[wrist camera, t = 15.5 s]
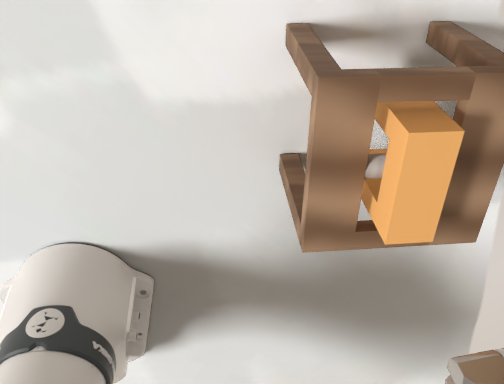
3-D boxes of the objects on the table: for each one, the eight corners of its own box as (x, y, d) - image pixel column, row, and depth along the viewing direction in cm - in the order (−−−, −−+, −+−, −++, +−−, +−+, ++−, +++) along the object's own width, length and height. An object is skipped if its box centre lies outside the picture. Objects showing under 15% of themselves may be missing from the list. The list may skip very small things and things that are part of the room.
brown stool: (416, 164, 55) (475, 242, 43) (279, 170, 53) (302, 252, 42) (450, 21, 46) (536, 72, 34) (286, 23, 44) (318, 77, 33)
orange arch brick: (384, 166, 49) (432, 241, 39) (345, 167, 48) (384, 244, 38) (402, 70, 43) (464, 130, 33) (359, 72, 43) (409, 133, 33)
